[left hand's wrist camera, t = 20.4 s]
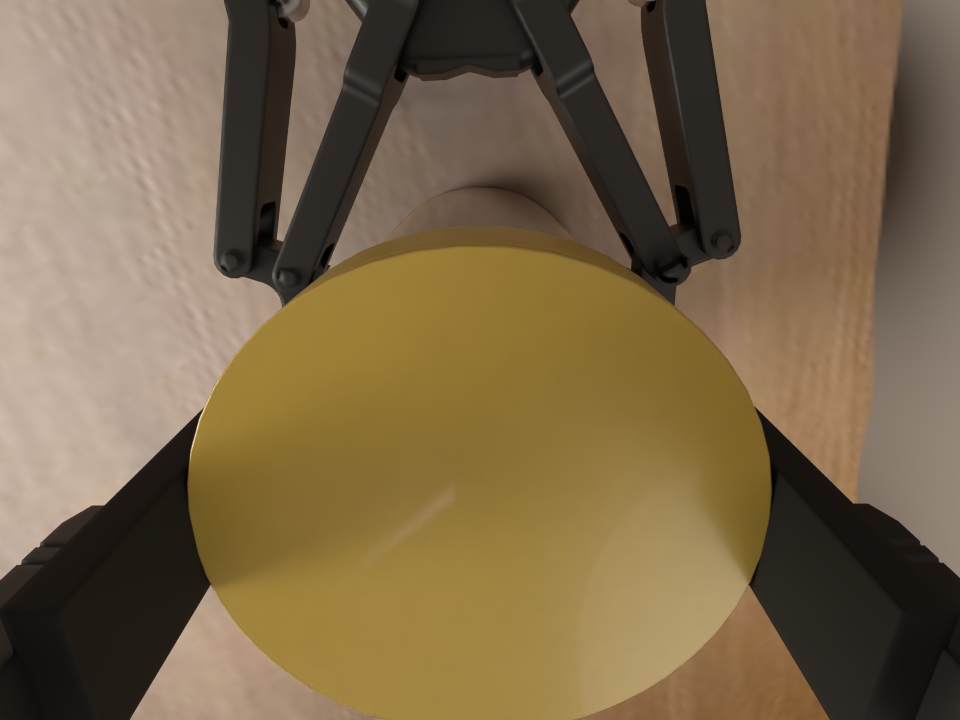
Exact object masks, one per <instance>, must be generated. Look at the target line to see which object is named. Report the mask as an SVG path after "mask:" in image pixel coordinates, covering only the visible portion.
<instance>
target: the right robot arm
mask: <svg viewBox="0 0 960 720" xmlns="http://www.w3.org/2000/svg"><path fill="white" fill-rule="evenodd" d="M345 1H346V2H347V3H348V5H349V6H350V7H351V9H352V10H353V11H354V13H355V14H356V15H357V17H358V18H359V19H360V21H361V22H362V25H361V28H360V31H359V33H358V36H357V39H356V41H355V44H354V46H353V49H352V52H351V54H350V57H349V60H348V62H347V65H346V68H345V72H344V80H343V87H342V90H341V93H340V95H339V98H338V100H337V103H336V106H335V108H334V111H333V114H332V116H331V119H330V121H329V124H328V127H327V129H326V132H325V135H324V137H323V140H322V142H321V145H320V148H319V150H318V153H317V155H316V158H315V161H314V163H313V166H312V169H311V171H310V174H309V176H308V179H307V182H306V184H305V187H304V190H303V192H302V195H301V197H300V200H299V203H298V205H297V208H296V211H295V213H294V216H293V218H292V221H291V224H290V226H289V229H288V231H287V234H286V237H285V239H284V242H282V241H279V240H276V239H277V230H278V220H279V211H280V201H281V192H282V182H283V173H284V163H285V154H286V144H287V135H288V125H289V116H290V106H291V97H292V87H293V78H294V68H295V56H296V35H295V25H294V22H297V21H300V20H301V19H303V18H304V17H305V16H306V14H307V13H308V10H309V7H310V0H224V2H225V6H226V11H227V15H228V19H229V27H228V42H227V58H226V73H225V88H224V103H223V119H222V134H221V149H220V164H219V180H218V195H217V210H216V225H215V241H214V263H215V265H216V267H217V269H218V270H219V271H220V272H221V273H222V274H223V275H225V276H227V277H229V278H240V277H246V278H249V279H253V280H256V281H259V282H263V283H265V284H267V285H269V286H270V287H272V288H273V289H274V290H275V291H276V292H277V293H278V295H279V297H280V299H281V303H282V308H283V307H284V306H285V305H286V304H287V303H288V302H290V301H291V300H292V299H293V298H294V297H295V296H297V295H298V294H299V293H300V292H301V291H303V290H304V289H305V288H306V287H308V286H309V285H310V284H311V283H313V282H314V281H315V280H316V279H318V278H319V277H320V276H321V275H323V274H324V273H325V272H326V271H327V270H328V269H329V268H330V265H328V263H329V261H330V259H331V256H332V254H333V251H334V249H335V246H336V244H337V242H338V239H339V237H340V234H341V232H342V230H343V227H344V225H345V222H346V220H347V218H348V215H349V213H350V210H351V208H352V206H353V203H354V201H355V198H356V196H357V194H358V191H359V189H360V186H361V184H362V182H363V179H364V177H365V174H366V172H367V170H368V167H369V165H370V162H371V160H372V158H373V155H374V153H375V150H376V148H377V146H378V143H379V141H380V138H381V136H382V134H383V131H384V129H385V126H386V124H387V122H388V119H389V117H390V114H391V112H392V110H393V108H394V107H395V105H396V104H397V102H398V100H399V98H400V96H401V94H402V91H403V89H404V86H405V84H406V82H407V79H408V77H409V74H410V75H412V76H414V77H418V78H420V79H421V80H422V81H434V80H447V79H450V78H453V77H456V76H459V75H461V74H464V73H467V72H473V73H477V74H480V75H484V76H488V77H492V78H502V77H517V76H518V74H520V73H522V72H525V71H527V70H529V69H530V70H531V72H532V74H533V76H534V78H535V80H536V81H537V83H538V85H539V87H540V89H541V91H542V93H543V94H544V96H545V97H546V99H547V100H548V101H549V103H550V105H551V106H552V108H553V110H554V112H555V114H556V116H557V118H558V120H559V122H560V124H561V126H562V128H563V129H564V131H565V133H566V135H567V137H568V139H569V141H570V143H571V145H572V147H573V149H574V151H575V153H576V154H577V156H578V158H579V160H580V162H581V164H582V166H583V168H584V170H585V172H586V174H587V176H588V178H589V179H590V181H591V183H592V185H593V187H594V189H595V191H596V193H597V195H598V197H599V199H600V201H601V203H602V205H603V206H604V208H605V210H606V212H607V214H608V216H609V218H610V220H611V222H612V224H613V226H614V228H615V230H616V231H617V233H618V235H619V237H620V239H621V241H622V243H623V245H624V247H625V249H626V251H627V253H628V255H629V256H630V258H631V260H632V263H631V270H630V269H629V268H627V269H629V270H630V271H632V272H634V273H635V274H637V275H638V276H640V277H641V278H642V279H643V280H644V281H645V282H647V283H648V284H649V285H650V286H651V287H653V288H654V289H655V290H656V291H657V292H659V293H660V294H661V295H662V296H663V297H664V298H666V299H667V300H668V301H669V302H670V303H671V304H672V305H674V303H675V292H676V286H677V285H679V284H681V283H682V282H684V281H685V280H686V279H687V277H688V276H689V274H690V271H691V267H692V266H694V265H697V264H699V263H702V262H704V261H707V260H710V259H712V258H714V259H726V258H728V257H730V256H732V255H733V254H734V253H735V252H736V251H737V249H738V247H739V245H740V243H741V233H740V226H739V219H738V213H737V206H736V200H735V193H734V187H733V180H732V173H731V167H730V160H729V154H728V147H727V140H726V134H725V127H724V121H723V114H722V107H721V101H720V94H719V88H718V81H717V74H716V68H715V61H714V55H713V48H712V42H711V35H710V28H709V22H708V15H707V9H706V2H705V0H628V1H629V2H630V3H631V4H633V5H634V6H639V7H641V31H642V38H643V46H644V51H645V56H646V62H647V67H648V72H649V77H650V83H651V88H652V93H653V98H654V104H655V109H656V114H657V119H658V125H659V130H660V135H661V140H662V146H663V151H664V156H665V161H666V167H667V172H668V177H669V182H670V187H671V193H672V198H673V203H674V208H675V214H676V219H677V224H675V225H672V226H670V227H669V226H668V224H667V222H666V220H665V218H664V216H663V214H662V212H661V210H660V208H659V205H658V203H657V201H656V199H655V197H654V195H653V193H652V191H651V189H650V187H649V185H648V183H647V181H646V179H645V177H644V175H643V172H642V170H641V168H640V166H639V164H638V162H637V160H636V158H635V156H634V154H633V152H632V150H631V148H630V146H629V144H628V142H627V139H626V137H625V135H624V133H623V131H622V129H621V127H620V125H619V123H618V121H617V119H616V117H615V115H614V113H613V111H612V109H611V106H610V104H609V102H608V100H607V98H606V96H605V94H604V92H603V90H602V88H601V86H600V84H599V82H598V80H597V77H596V75H595V72H594V66H593V62H592V59H591V57H590V55H589V52H588V50H587V48H586V46H585V44H584V42H583V40H582V38H581V36H580V34H579V32H578V30H577V27H576V25H575V23H574V21H573V19H572V17H571V13H572V12H573V10H574V8H575V7H576V5H577V4H578V2H579V0H345Z"/></svg>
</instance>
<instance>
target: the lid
mask: <svg viewBox="0 0 960 720" xmlns="http://www.w3.org/2000/svg"><path fill="white" fill-rule="evenodd" d="M187 491H188V508H189V513H190V518H191V523H192V527H193V532H194V536H195V541H196V545H197V550H198V553H199V557H200V560H201V563H202V566H203V569H204V571H205V574H206V576H207V578H208V580H209V582H210V584H211V586H212V587H213V589H214V591H215V593H216V595H217V597H218V598H219V600H220V602H221V604H222V605H223V606H224V608H225V609H226V611H227V612H228V613H229V615H230V616H231V617H232V619H233V620H234V622H235V623H236V624H237V626H238V627H239V628H240V629H241V630H242V632H243V633H244V634H245V635H246V636H247V637H248V638H249V639H250V640H251V641H252V642H253V643H254V644H255V645H256V646H257V647H258V648H259V650H260V651H262V652H263V653H264V654H265V655H266V656H267V657H269V658H270V659H271V660H272V661H273V662H275V663H276V664H277V665H278V666H279V667H281V668H282V669H283V670H284V671H286V672H287V673H289V674H290V675H292V676H293V677H295V678H296V679H298V680H299V681H301V682H302V683H304V684H305V685H307V686H308V687H310V688H311V689H313V690H315V691H317V692H319V693H321V694H323V695H325V696H327V697H329V698H330V699H332V700H334V701H336V702H338V703H340V704H343V705H345V706H348V707H350V708H353V709H355V710H358V711H360V712H363V713H365V714H368V715H371V716H375V717H378V718H382V719H385V720H575V719H579V718H583V717H586V716H589V715H591V714H594V713H597V712H599V711H602V710H605V709H607V708H610V707H613V706H615V705H617V704H619V703H621V702H623V701H625V700H627V699H629V698H631V697H633V696H635V695H637V694H639V693H641V692H643V691H645V690H647V689H648V688H650V687H651V686H653V685H655V684H656V683H658V682H659V681H661V680H662V679H664V678H666V677H667V676H669V675H670V674H672V673H673V672H674V671H675V670H676V669H678V668H679V667H680V666H681V665H683V664H684V663H685V662H686V661H688V660H689V659H690V658H691V657H693V656H694V655H695V654H696V653H697V652H698V651H699V650H700V649H701V648H702V647H703V646H704V645H705V644H706V643H707V642H708V641H709V640H710V639H711V638H712V637H713V636H714V635H715V634H716V633H717V631H718V630H719V629H720V628H721V626H722V625H723V624H724V622H725V621H726V620H727V618H728V617H729V616H730V614H731V613H732V612H733V611H734V609H735V608H736V606H737V604H738V603H739V601H740V599H741V597H742V596H743V594H744V592H745V590H746V589H747V587H748V585H749V584H750V582H751V579H752V577H753V574H754V572H755V570H756V567H757V565H758V562H759V560H760V557H761V554H762V549H763V545H764V541H765V536H766V532H767V528H768V523H769V518H770V511H771V499H772V481H771V469H770V456H769V452H768V448H767V444H766V440H765V436H764V432H763V428H762V424H761V421H760V419H759V417H758V414H757V412H756V410H755V407H754V405H753V403H752V400H751V398H750V396H749V393H748V391H747V389H746V388H745V386H744V385H743V383H742V381H741V380H740V378H739V377H738V375H737V373H736V372H735V370H734V369H733V367H732V366H731V364H730V362H729V361H728V359H727V358H726V357H725V356H724V355H723V354H722V352H721V351H720V350H719V349H718V348H717V347H716V346H715V345H714V343H713V342H712V341H711V340H710V339H709V338H708V337H707V335H706V334H705V333H704V332H703V331H702V330H701V329H700V328H699V327H698V326H696V325H695V324H694V323H693V322H692V321H691V320H690V319H688V318H687V317H686V316H685V315H684V314H683V313H682V312H680V311H679V310H678V309H677V308H676V307H675V306H674V305H672V304H671V303H670V302H669V301H668V300H667V299H666V298H664V297H663V296H662V295H661V294H660V293H659V292H657V291H656V290H655V289H654V288H653V287H651V286H650V285H649V284H648V283H647V282H645V281H644V280H643V279H642V278H641V277H640V276H638V275H637V274H635V273H634V272H632V271H630V270H629V269H627V268H626V267H624V266H622V265H621V264H619V263H618V262H616V261H614V260H613V259H611V258H610V257H608V256H606V255H603V254H601V253H599V252H597V251H594V250H592V249H590V248H588V247H585V246H583V245H581V244H579V243H576V242H574V241H570V240H567V239H563V238H560V237H556V236H553V235H549V234H546V233H542V232H539V231H532V230H525V229H518V228H511V227H504V226H457V227H449V228H441V229H433V230H426V231H422V232H418V233H414V234H410V235H406V236H403V237H399V238H395V239H391V240H389V241H386V242H384V243H381V244H379V245H376V246H374V247H372V248H369V249H367V250H364V251H362V252H360V253H357V254H355V255H354V256H352V257H350V258H349V259H347V260H345V261H343V262H342V263H340V264H338V265H337V266H335V267H333V268H332V269H330V270H328V271H326V272H325V273H324V274H323V275H321V276H320V277H319V278H318V279H316V280H315V281H314V282H313V283H311V284H310V285H309V286H308V287H306V288H305V289H304V290H303V291H301V292H300V293H299V294H298V295H297V296H295V297H294V298H293V299H292V300H291V301H290V302H288V303H287V304H286V305H285V306H284V307H283V308H282V309H280V310H279V311H278V312H277V313H276V314H275V315H273V316H272V317H271V318H270V319H269V320H268V321H266V322H265V323H264V324H263V325H262V326H261V327H260V328H259V329H258V330H257V331H256V332H255V333H254V334H253V336H252V337H251V338H250V339H249V340H248V341H247V342H246V343H245V344H244V345H243V346H242V347H241V348H240V350H239V351H238V352H237V353H236V354H235V355H234V357H233V358H232V360H231V361H230V363H229V364H228V366H227V367H226V369H225V370H224V372H223V373H222V375H221V376H220V378H219V379H218V381H217V382H216V384H215V385H214V387H213V390H212V392H211V394H210V396H209V398H208V400H207V403H206V405H205V407H204V409H203V411H202V413H201V416H200V418H199V422H198V426H197V429H196V433H195V436H194V440H193V444H192V447H191V452H190V462H189V471H188V480H187Z"/></svg>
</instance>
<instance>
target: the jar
mask: <svg viewBox="0 0 960 720" xmlns="http://www.w3.org/2000/svg"><path fill="white" fill-rule="evenodd" d="M457 226H504V227H511V228H518V229H525V230H532V231H539V232H542V233H546V234H549V235H553V236H556V237H560V238H563V239H567V240H570V241H574V242H576V241H575V240H574V239H573V237H572V236H571V235H570V234H569V233H568V232H567V231H566V230H565V229H564V228H563V227H562V225H561V224H560V223H559V222H558V221H557V220H556V219H555V218H554V217H553V216H552V215H551V214H550V213H549V212H547V211H546V210H545V209H544V208H543V207H541V206H539V205H538V204H536V203H535V202H533V201H532V200H530V199H528V198H526V197H523V196H521V195H519V194H516V193H513V192H510V191H507V190H502V189H496V188H489V187H472V188H463V189H458V190H454V191H450V192H447V193H444V194H442V195H439V196H437V197H434V198H432V199H431V200H429V201H427V202H425V203H424V204H422V205H421V206H419V207H418V208H417V209H415V210H414V211H413V212H411V213H410V214H409V215H408V216H407V217H406V218H405V219H404V220H403V221H402V222H401V223H400V225H399V226H398V227H397V228H396V229H395V230H394V231H393V232H392V233H391V234H390V235H389V236H388V237H387V239H386V240H385V241H384V242H386V241H389V240H391V239H395V238H399V237H403V236H406V235H410V234H414V233H418V232H422V231H426V230H433V229H441V228H449V227H457ZM384 242H383V243H384ZM576 243H577V242H576Z"/></svg>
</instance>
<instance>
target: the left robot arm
mask: <svg viewBox="0 0 960 720" xmlns="http://www.w3.org/2000/svg"><path fill="white" fill-rule="evenodd" d="M203 409H204V408H203ZM203 409H202V410H201V411H200V412H199V413H198V414H197V415H196V416H195V417H194V418H193V419H192V420H191V421H190V422H189V423H188V424H187V425H186V426H185V427H184V428H183V429H182V430H181V431H180V432H179V433H178V434H177V435H176V436H175V437H174V438H173V439H172V440H171V441H170V442H169V443H168V444H167V445H166V446H164V447H163V448H162V449H161V450H160V451H159V452H158V453H157V454H156V455H155V456H154V457H153V458H152V459H151V460H150V461H149V462H148V463H147V464H146V465H145V466H144V467H143V468H142V469H141V470H140V471H139V472H138V473H137V474H136V475H135V476H134V477H133V478H132V479H131V480H130V481H129V482H128V483H127V484H126V485H125V486H124V487H123V488H122V489H121V490H120V491H119V492H118V493H117V494H116V495H115V496H114V497H113V498H112V499H111V500H110V501H109V502H108V503H107V504H106V505H105V506H90V507H89V508H87V509H85V510H84V511H82V512H80V513H79V514H77V515H75V516H73V517H72V518H70V519H68V520H67V521H65V522H63V523H62V524H61V525H60V526H58V527H57V528H56V529H55V530H54V531H53V532H52V533H51V534H50V535H49V536H48V537H47V538H46V539H44V540H43V541H42V542H41V543H40V547H39V548H35V549H34V550H33V551H31V552H30V553H29V554H28V555H27V556H26V557H25V558H24V559H23V560H22V563H21V565H16V566H15V567H14V568H13V569H12V570H11V571H10V572H9V573H8V574H7V575H6V576H4V577H3V578H2V579H1V580H0V720H130V718H131V716H132V715H133V713H134V711H135V710H136V708H137V706H138V705H139V703H140V701H141V700H142V698H143V696H144V695H145V693H146V691H147V690H148V688H149V686H150V685H151V683H152V681H153V680H154V678H155V676H156V675H157V673H158V671H159V670H160V668H161V666H162V665H163V663H164V661H165V660H166V658H167V656H168V655H169V653H170V651H171V650H172V648H173V646H174V645H175V643H176V641H177V640H178V638H179V636H180V635H181V633H182V631H183V630H184V628H185V626H186V625H187V623H188V621H189V620H190V618H191V616H192V615H193V613H194V611H195V610H196V608H197V606H198V605H199V603H200V601H201V600H202V598H203V596H204V595H205V593H206V592H207V590H208V588H209V587H210V585H211V584H210V582H209V580H208V578H207V576H206V574H205V571H204V569H203V566H202V563H201V560H200V557H199V553H198V550H197V545H196V541H195V536H194V532H193V527H192V523H191V518H190V513H189V508H188V491H187V480H188V471H189V462H190V452H191V447H192V444H193V440H194V436H195V433H196V429H197V426H198V422H199V418H200V416H201V413H202V411H203ZM755 410H756V412H757V414H758V417H759V419H760V421H761V424H762V428H763V432H764V436H765V440H766V444H767V448H768V452H769V456H770V469H771V481H772V499H771V511H770V518H769V523H768V528H767V532H766V536H765V541H764V545H763V549H762V554H761V557H760V560H759V562H758V565H757V567H756V570H755V572H754V574H753V577H752V579H751V582H750V584H749V585H750V587H751V589H752V590H753V592H754V594H755V595H756V597H757V599H758V600H759V602H760V604H761V605H762V607H763V609H764V610H765V612H766V614H767V615H768V617H769V619H770V620H771V622H772V624H773V625H774V627H775V629H776V630H777V632H778V634H779V635H780V637H781V639H782V640H783V642H784V644H785V645H786V647H787V649H788V650H789V652H790V654H791V655H792V657H793V659H794V660H795V662H796V664H797V665H798V667H799V669H800V670H801V672H802V674H803V675H804V677H805V679H806V680H807V682H808V684H809V685H810V687H811V689H812V690H813V692H814V694H815V695H816V697H817V699H818V700H819V702H820V704H821V705H822V707H823V709H824V710H825V712H826V714H827V715H828V717H829V719H830V720H960V578H959V577H958V576H957V575H956V574H955V573H954V572H953V571H952V570H951V569H950V568H948V567H947V566H946V565H945V564H944V563H940V562H939V559H938V557H936V556H935V555H934V554H933V553H932V552H931V551H930V550H929V549H928V548H927V547H926V546H924V545H920V541H919V540H918V539H917V538H916V537H915V536H914V535H913V534H911V533H910V532H909V531H908V530H907V529H906V528H905V527H904V526H903V525H902V524H901V523H900V522H898V521H897V520H895V519H893V518H892V517H890V516H888V515H887V514H885V513H883V512H882V511H880V510H878V509H876V508H875V507H873V506H871V505H869V504H853V503H852V502H851V501H850V500H849V499H848V498H847V497H846V496H845V495H844V494H843V493H842V492H841V491H840V490H839V489H838V488H837V487H836V486H835V485H834V484H833V483H832V482H831V481H830V480H829V479H828V478H827V477H826V476H825V475H824V474H823V473H822V472H821V471H820V470H819V469H817V468H816V467H815V466H814V465H813V464H812V463H811V462H810V461H809V460H808V459H807V458H806V457H805V456H804V455H803V454H802V453H801V452H800V451H799V450H798V449H797V448H796V447H795V446H794V445H793V444H792V443H791V442H790V441H789V440H788V439H787V438H786V437H785V436H784V435H783V434H782V433H781V432H780V431H779V430H778V429H777V428H776V427H775V426H774V425H773V424H772V423H771V422H770V421H769V420H768V419H767V418H766V417H765V416H764V415H763V414H762V413H761V412H760V411H759V410H758V409H757V408H756V407H755Z"/></svg>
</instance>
